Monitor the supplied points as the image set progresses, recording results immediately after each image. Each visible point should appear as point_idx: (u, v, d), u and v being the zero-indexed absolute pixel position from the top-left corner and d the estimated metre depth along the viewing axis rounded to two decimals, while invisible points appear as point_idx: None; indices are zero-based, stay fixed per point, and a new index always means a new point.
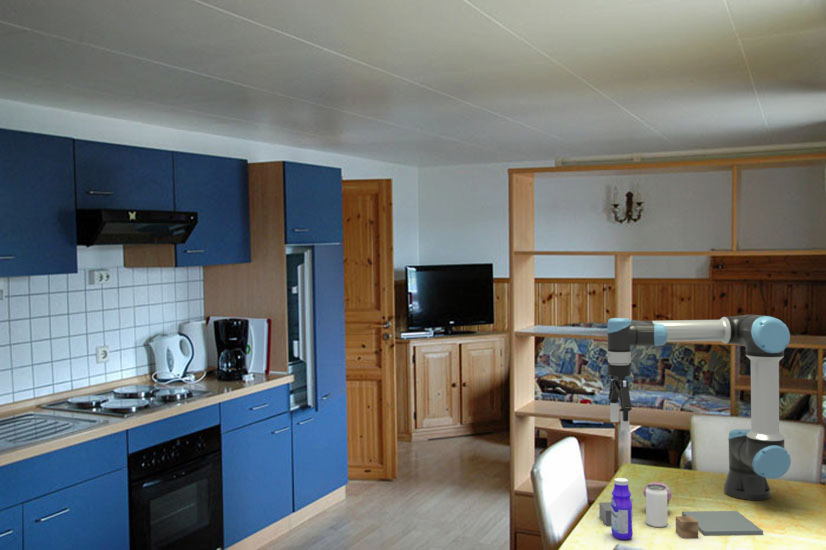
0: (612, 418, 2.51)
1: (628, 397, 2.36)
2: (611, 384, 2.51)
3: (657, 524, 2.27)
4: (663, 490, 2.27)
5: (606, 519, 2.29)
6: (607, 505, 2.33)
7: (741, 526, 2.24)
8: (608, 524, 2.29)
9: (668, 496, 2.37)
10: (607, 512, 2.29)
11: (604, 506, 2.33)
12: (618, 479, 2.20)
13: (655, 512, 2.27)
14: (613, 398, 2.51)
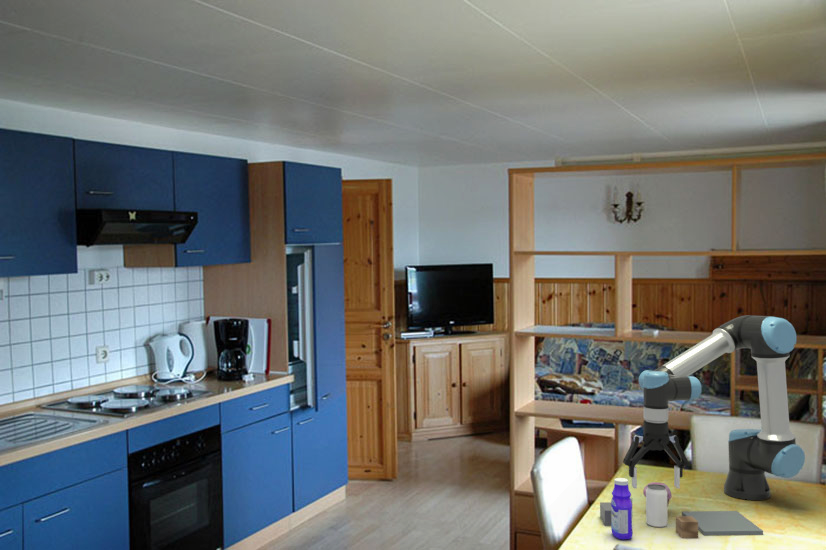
0: (674, 482, 2.30)
1: (629, 452, 2.29)
2: (674, 445, 2.30)
3: (657, 524, 2.27)
4: (663, 490, 2.27)
5: (605, 519, 2.29)
6: (607, 505, 2.33)
7: (741, 526, 2.24)
8: (607, 524, 2.29)
9: (668, 496, 2.37)
10: (606, 512, 2.29)
11: (604, 506, 2.33)
12: (618, 479, 2.20)
13: (655, 512, 2.27)
14: (674, 460, 2.30)
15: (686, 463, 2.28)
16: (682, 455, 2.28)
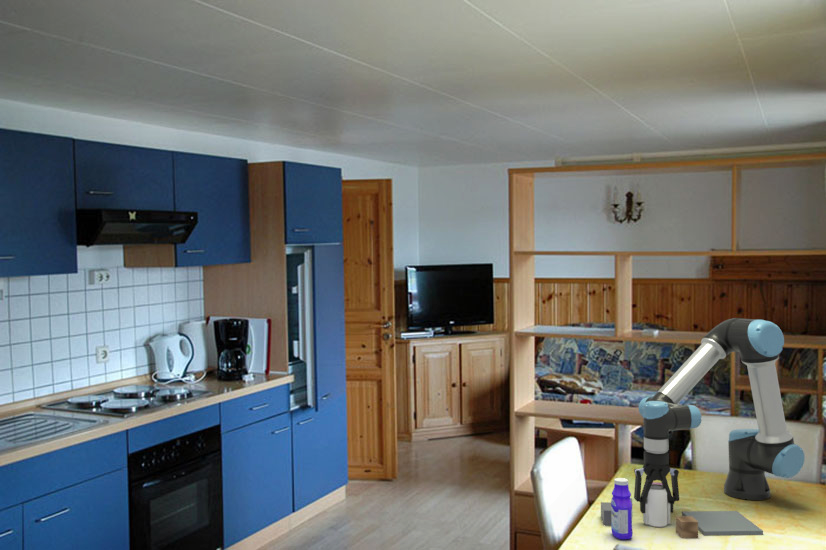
0: None
1: (636, 488, 2.29)
2: (671, 477, 2.31)
3: (656, 524, 2.27)
4: (663, 490, 2.27)
5: (604, 519, 2.29)
6: (607, 505, 2.33)
7: (741, 526, 2.24)
8: (606, 524, 2.29)
9: None
10: (605, 512, 2.29)
11: (604, 506, 2.33)
12: (618, 479, 2.20)
13: (655, 512, 2.27)
14: None
15: (677, 498, 2.28)
16: (676, 490, 2.28)
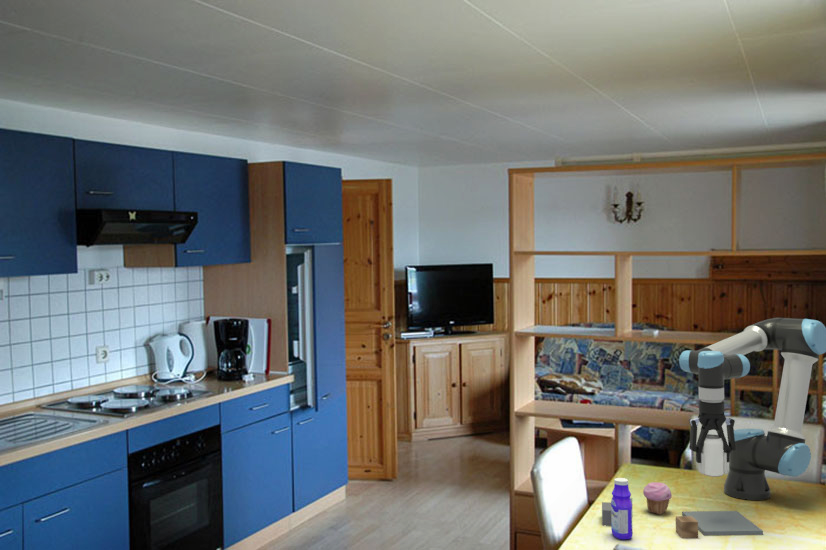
0: None
1: (692, 437, 2.28)
2: None
3: (713, 473, 2.26)
4: (719, 439, 2.26)
5: (603, 518, 2.29)
6: (607, 505, 2.33)
7: (741, 526, 2.24)
8: (605, 524, 2.29)
9: (668, 496, 2.37)
10: (604, 512, 2.29)
11: (604, 506, 2.33)
12: (618, 479, 2.20)
13: (711, 461, 2.26)
14: None
15: (733, 448, 2.27)
16: (732, 439, 2.27)
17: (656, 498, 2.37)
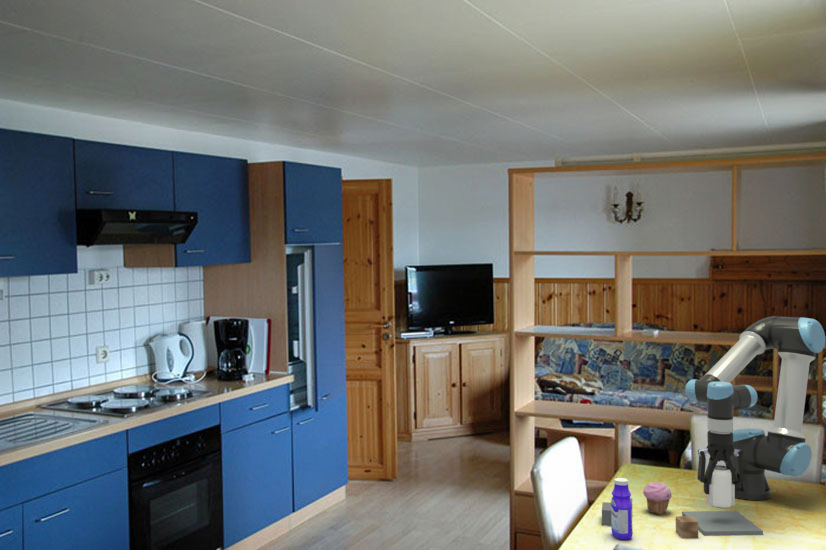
0: None
1: (700, 468, 2.28)
2: (735, 458, 2.29)
3: (721, 505, 2.25)
4: (728, 471, 2.26)
5: (602, 518, 2.29)
6: (608, 505, 2.33)
7: (741, 526, 2.24)
8: (604, 523, 2.29)
9: (668, 496, 2.37)
10: (603, 511, 2.29)
11: (604, 506, 2.33)
12: (618, 479, 2.20)
13: (719, 493, 2.25)
14: None
15: (741, 479, 2.27)
16: (740, 470, 2.27)
17: (656, 498, 2.37)
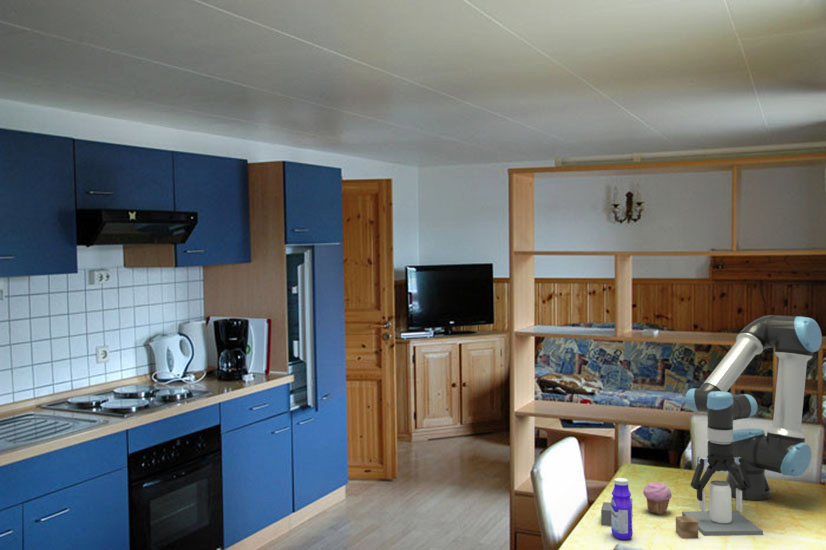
0: (736, 505, 2.29)
1: (696, 475, 2.28)
2: (737, 466, 2.29)
3: (721, 521, 2.25)
4: (727, 486, 2.26)
5: (602, 518, 2.30)
6: (608, 505, 2.33)
7: (741, 526, 2.24)
8: (604, 523, 2.29)
9: (668, 496, 2.37)
10: (603, 511, 2.29)
11: (604, 506, 2.33)
12: (618, 479, 2.20)
13: (719, 509, 2.26)
14: (736, 482, 2.29)
15: (748, 486, 2.27)
16: (745, 477, 2.27)
17: (656, 498, 2.37)
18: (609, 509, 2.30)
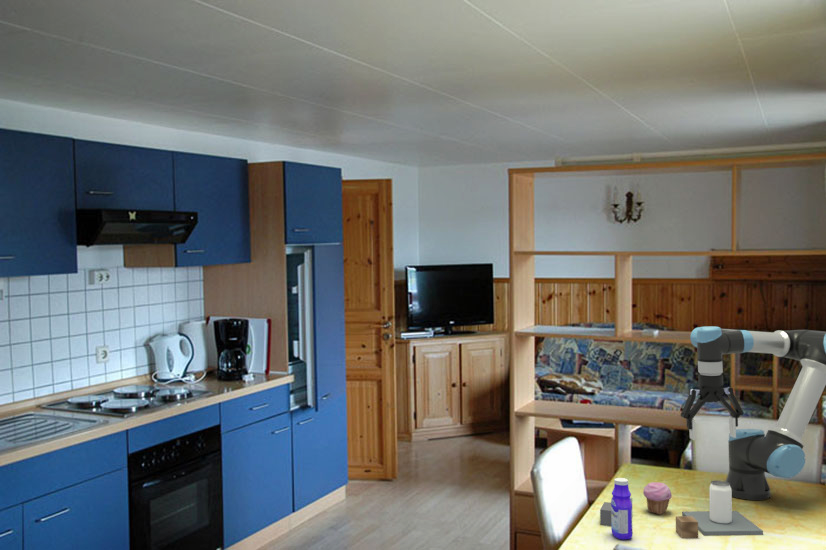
0: (730, 432, 2.39)
1: (687, 405, 2.36)
2: (728, 396, 2.39)
3: (721, 521, 2.25)
4: (728, 486, 2.26)
5: (601, 518, 2.30)
6: (608, 505, 2.33)
7: (741, 526, 2.24)
8: (603, 523, 2.29)
9: (668, 496, 2.37)
10: (602, 511, 2.30)
11: (604, 505, 2.33)
12: (618, 479, 2.20)
13: (720, 509, 2.26)
14: (728, 411, 2.38)
15: (741, 413, 2.37)
16: (737, 405, 2.37)
17: (656, 498, 2.37)
18: (608, 509, 2.30)
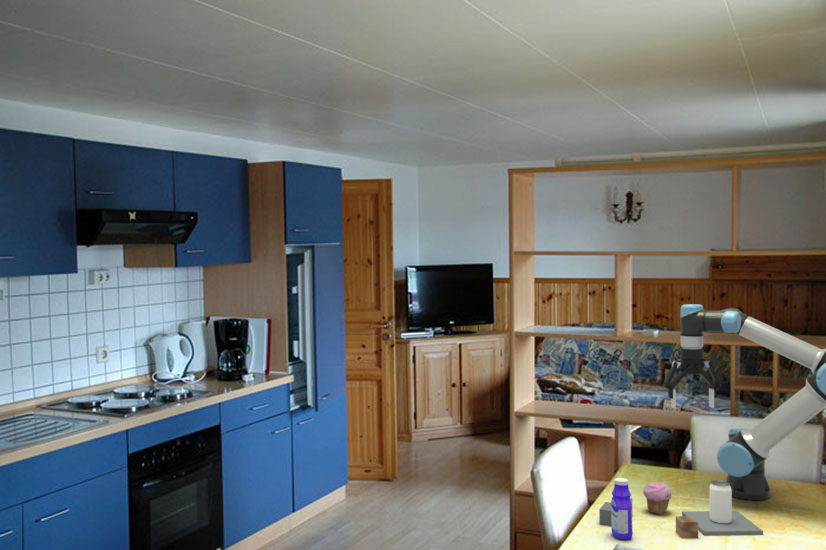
0: (709, 403, 2.57)
1: (669, 376, 2.55)
2: (708, 369, 2.57)
3: (721, 521, 2.25)
4: (728, 486, 2.26)
5: (600, 518, 2.30)
6: (608, 505, 2.33)
7: (741, 526, 2.24)
8: (602, 523, 2.30)
9: (668, 496, 2.37)
10: (601, 511, 2.30)
11: (604, 505, 2.33)
12: (618, 479, 2.20)
13: (720, 509, 2.26)
14: (708, 383, 2.57)
15: (720, 385, 2.55)
16: (716, 378, 2.55)
17: (656, 498, 2.37)
18: (608, 509, 2.30)
